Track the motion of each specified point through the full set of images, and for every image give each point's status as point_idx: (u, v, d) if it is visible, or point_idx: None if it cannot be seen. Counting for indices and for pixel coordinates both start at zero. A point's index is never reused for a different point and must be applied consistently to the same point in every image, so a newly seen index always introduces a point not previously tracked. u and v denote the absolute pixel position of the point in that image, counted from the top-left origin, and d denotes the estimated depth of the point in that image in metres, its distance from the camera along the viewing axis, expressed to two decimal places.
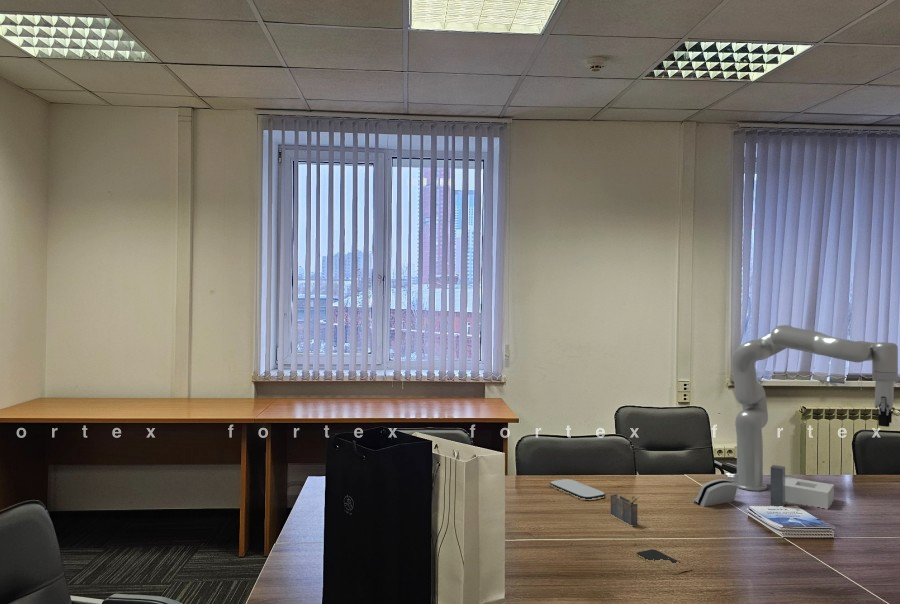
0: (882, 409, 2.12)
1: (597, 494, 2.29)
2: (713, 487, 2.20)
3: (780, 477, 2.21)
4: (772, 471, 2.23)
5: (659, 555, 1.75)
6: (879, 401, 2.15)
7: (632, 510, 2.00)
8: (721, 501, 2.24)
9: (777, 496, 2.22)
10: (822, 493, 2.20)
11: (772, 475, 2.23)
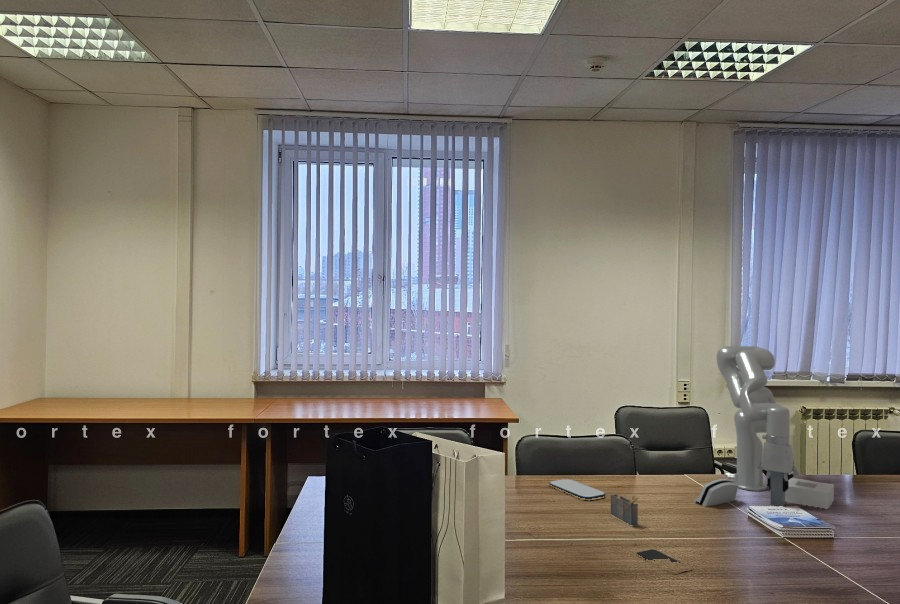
0: None
1: (597, 494, 2.29)
2: (715, 487, 2.20)
3: (780, 477, 2.21)
4: (772, 471, 2.23)
5: (659, 555, 1.75)
6: (792, 466, 2.20)
7: (632, 510, 2.00)
8: (722, 501, 2.25)
9: (777, 496, 2.22)
10: (822, 493, 2.20)
11: (772, 475, 2.23)
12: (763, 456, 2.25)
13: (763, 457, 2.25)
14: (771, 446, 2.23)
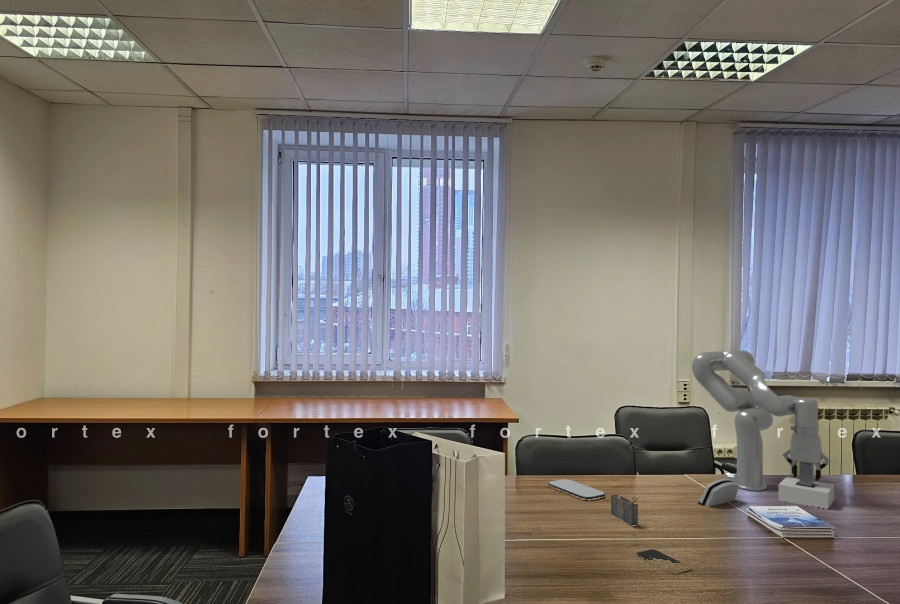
0: (826, 464, 2.25)
1: (597, 494, 2.29)
2: (717, 487, 2.20)
3: (809, 472, 2.27)
4: (801, 466, 2.28)
5: (659, 555, 1.75)
6: (821, 456, 2.25)
7: (632, 510, 2.00)
8: (724, 501, 2.25)
9: None
10: (822, 493, 2.20)
11: (801, 470, 2.28)
12: (792, 447, 2.30)
13: (792, 448, 2.30)
14: (800, 437, 2.28)
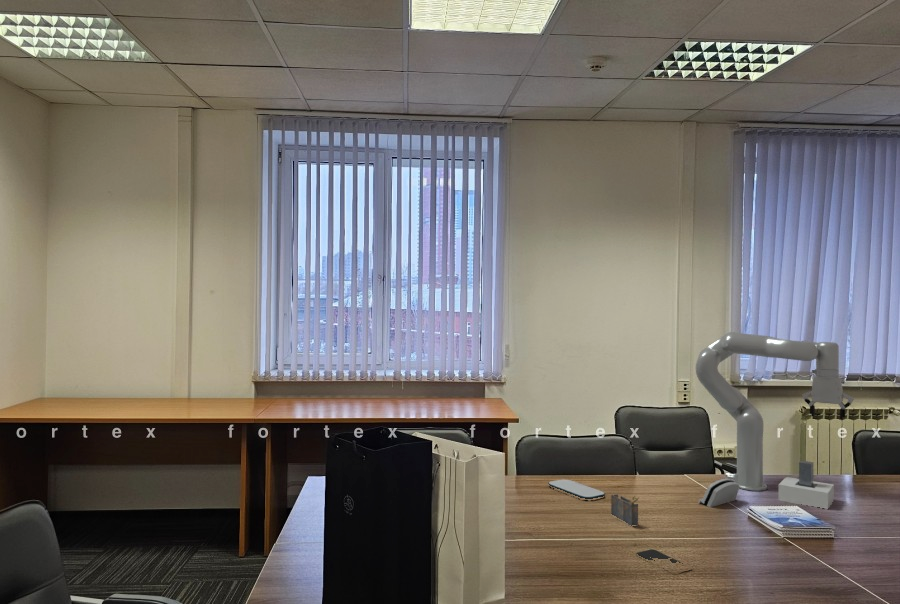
0: (850, 403, 2.31)
1: (597, 494, 2.29)
2: (719, 487, 2.20)
3: (809, 472, 2.27)
4: (800, 466, 2.29)
5: (658, 555, 1.75)
6: (842, 397, 2.32)
7: (633, 510, 2.00)
8: (725, 501, 2.25)
9: None
10: (822, 493, 2.20)
11: (800, 470, 2.29)
12: (813, 389, 2.37)
13: (813, 390, 2.37)
14: (821, 379, 2.35)
